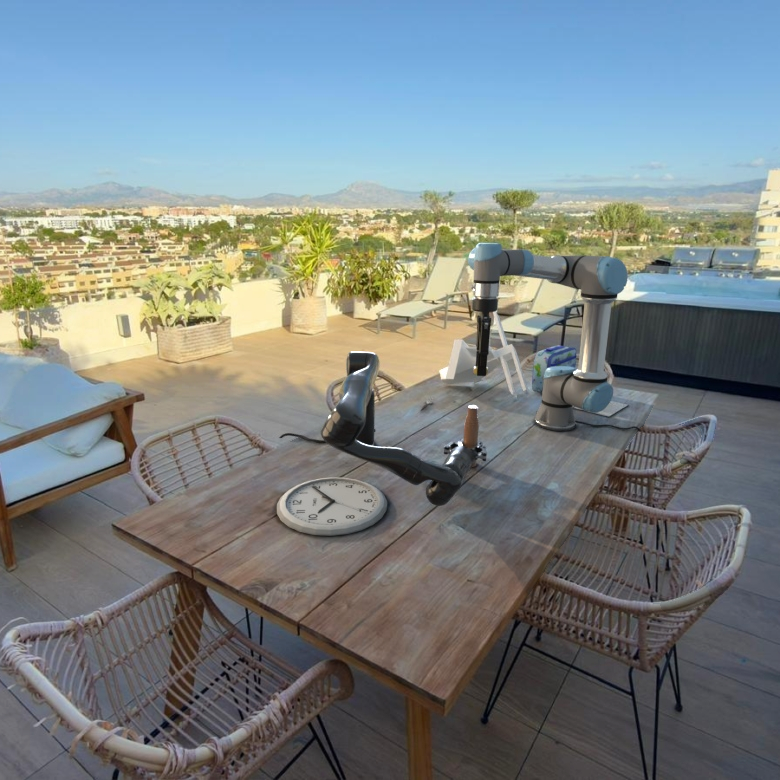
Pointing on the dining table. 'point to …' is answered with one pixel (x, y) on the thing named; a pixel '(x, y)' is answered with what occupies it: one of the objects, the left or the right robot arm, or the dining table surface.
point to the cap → (476, 370)
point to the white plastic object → (466, 361)
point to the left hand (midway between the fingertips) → (472, 442)
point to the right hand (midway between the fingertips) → (480, 373)
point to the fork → (427, 403)
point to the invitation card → (610, 408)
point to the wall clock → (331, 506)
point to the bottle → (471, 428)
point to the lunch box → (551, 363)
